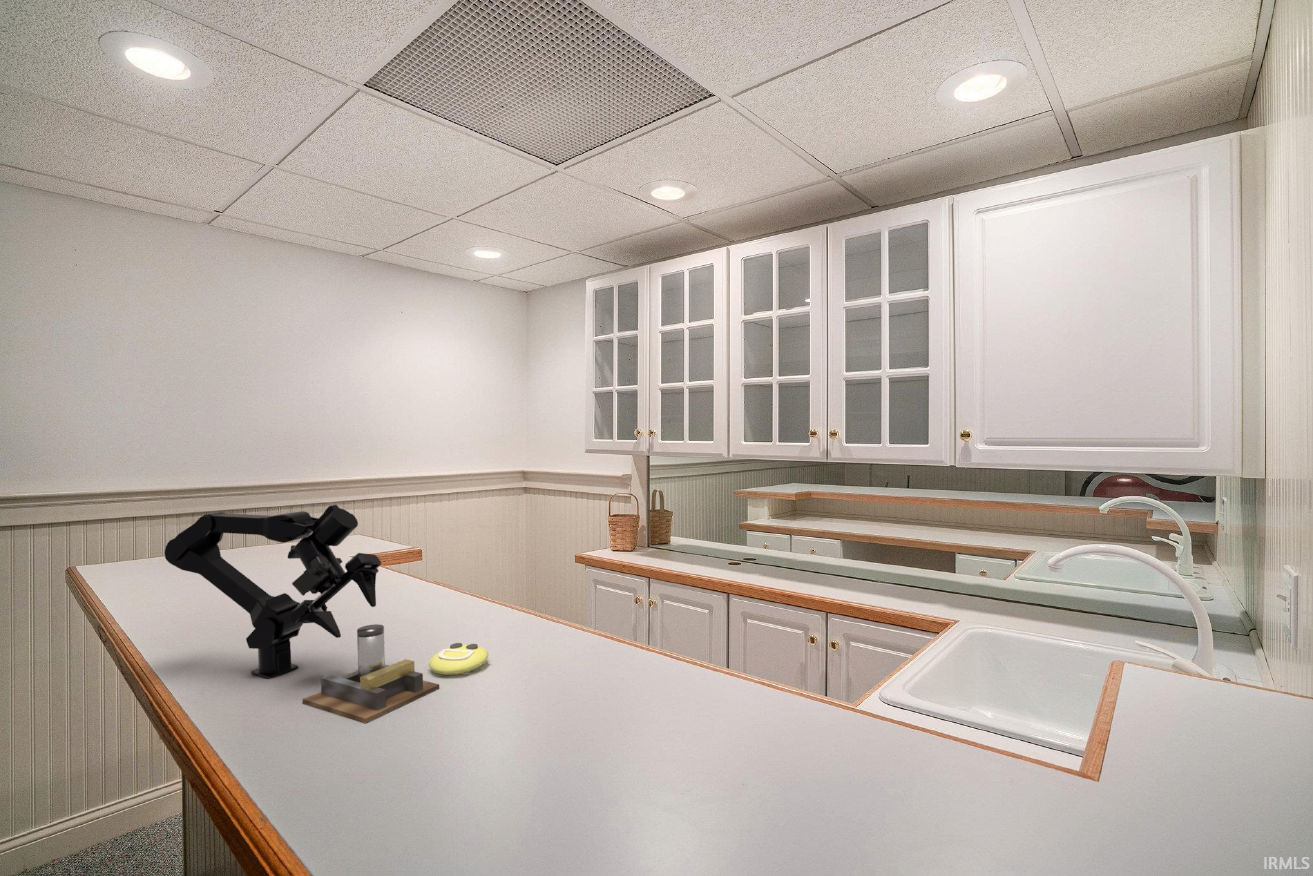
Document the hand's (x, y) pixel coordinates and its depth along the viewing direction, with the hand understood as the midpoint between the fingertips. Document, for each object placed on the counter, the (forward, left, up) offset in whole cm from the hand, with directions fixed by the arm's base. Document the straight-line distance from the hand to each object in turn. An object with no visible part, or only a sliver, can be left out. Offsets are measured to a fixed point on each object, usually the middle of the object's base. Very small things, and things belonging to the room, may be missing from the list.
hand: (356, 621), depth 125 cm
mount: (+8, -3, -12) cm, 15 cm away
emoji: (+12, +15, -13) cm, 23 cm away
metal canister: (+8, -3, -11) cm, 14 cm away
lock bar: (+13, -3, -8) cm, 16 cm away
